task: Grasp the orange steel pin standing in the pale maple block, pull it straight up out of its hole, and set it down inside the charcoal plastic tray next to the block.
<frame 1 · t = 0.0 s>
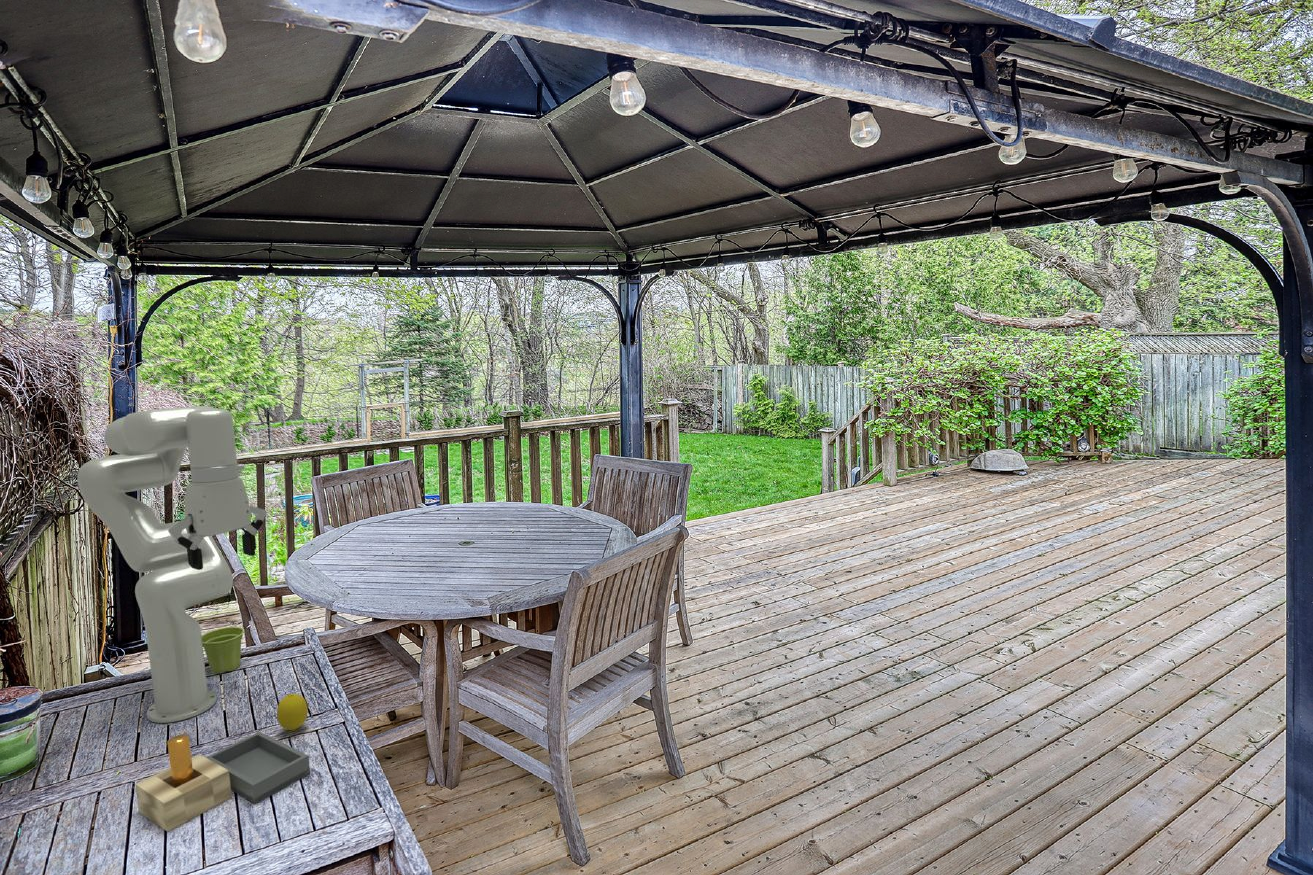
hand: (224, 561, 134), 37 cm above the table, tool pointing down, fingers open, 9 cm apart
plant pot: (225, 668, 171), on the table
tray: (258, 774, 128), on the table
lemon: (294, 731, 142), on the table
pin block: (185, 804, 120), on the table
pin: (182, 771, 119), in the pin block
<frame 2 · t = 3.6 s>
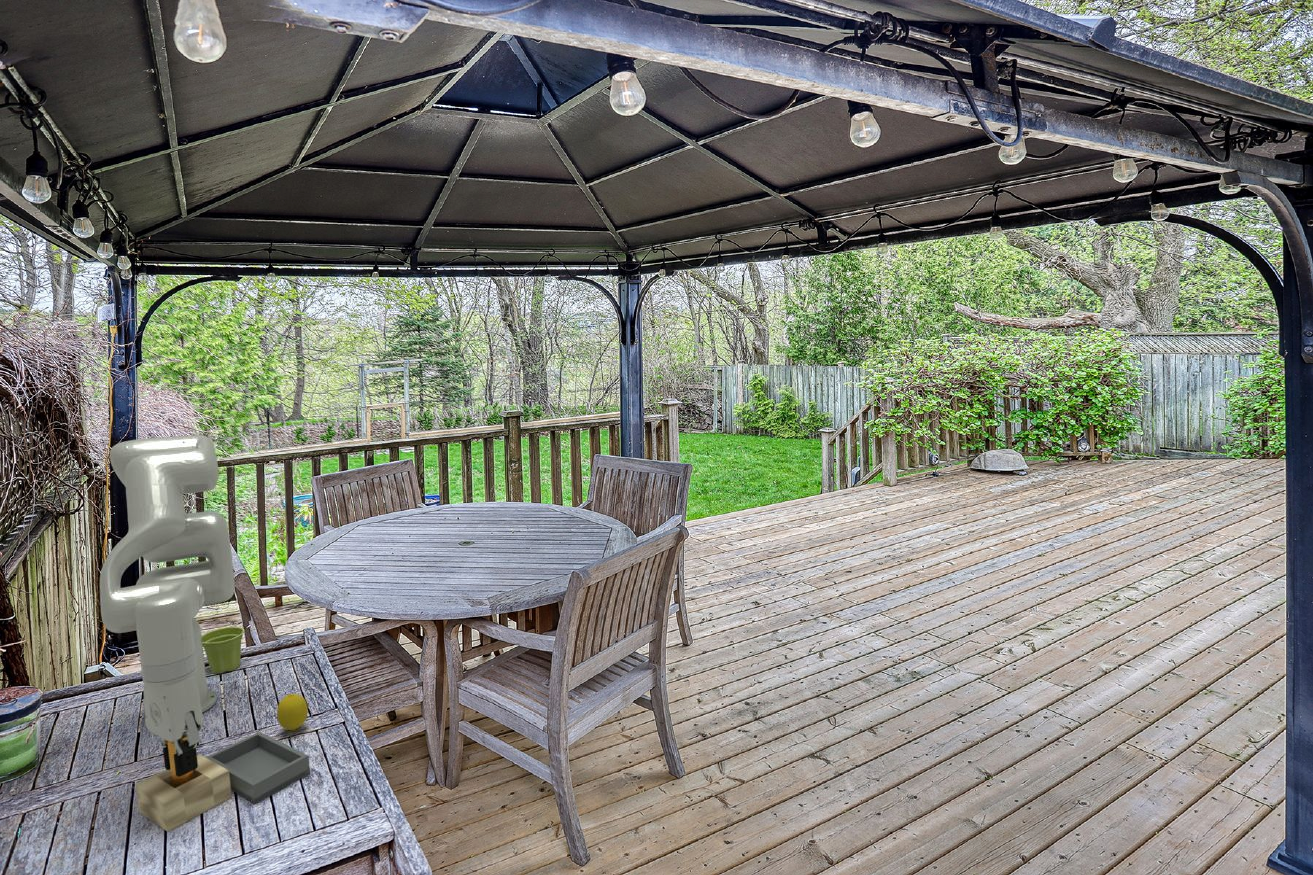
hand: (181, 767, 119), 7 cm above the table, tool pointing down, fingers closed on pin, 3 cm apart
pin: (182, 771, 119), in the pin block, touching gripper
everything else where it was.
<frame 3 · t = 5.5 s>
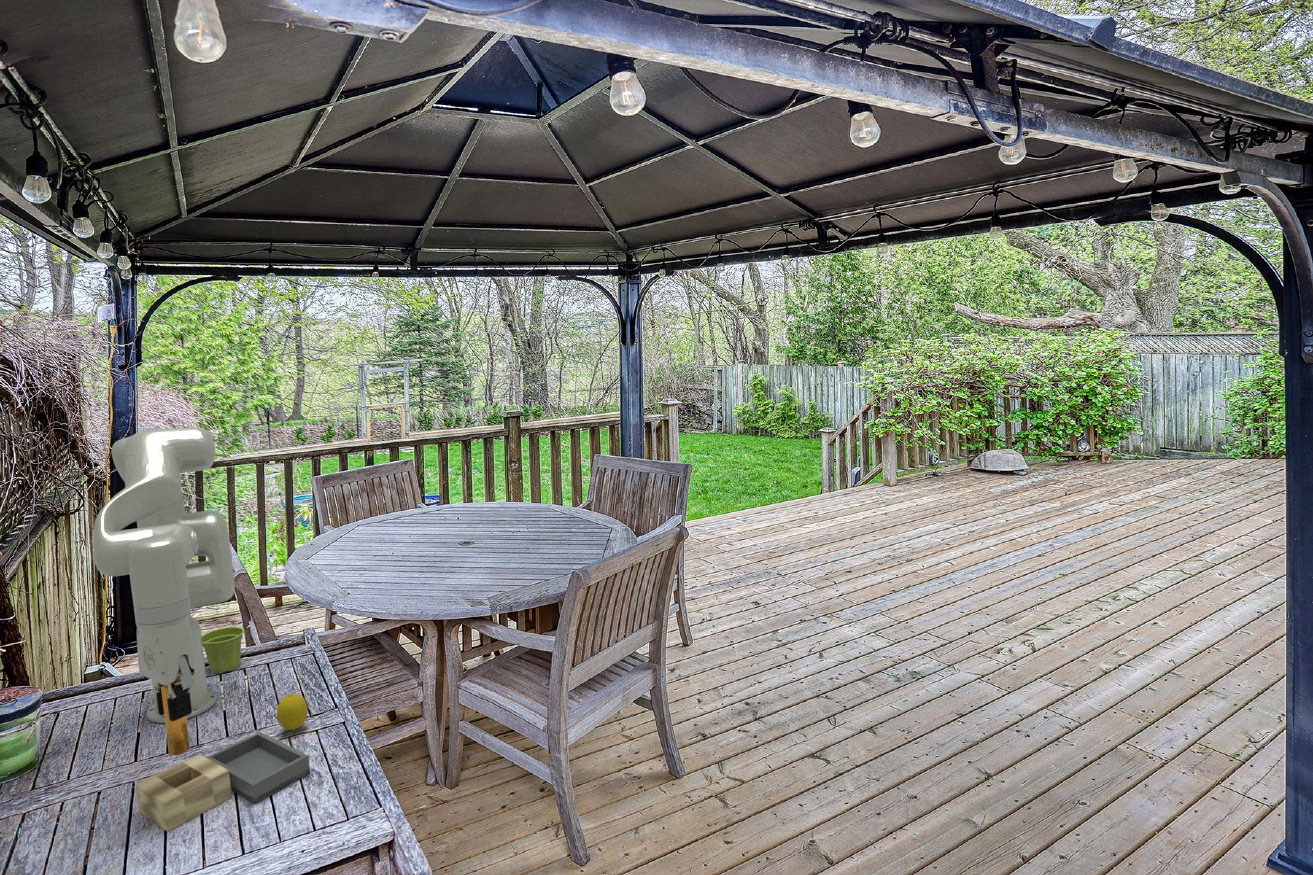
hand: (175, 713, 118), 16 cm above the table, tool pointing down, fingers closed on pin, 3 cm apart
pin: (175, 717, 118), point 16 cm above the table, touching gripper
everything else where it was.
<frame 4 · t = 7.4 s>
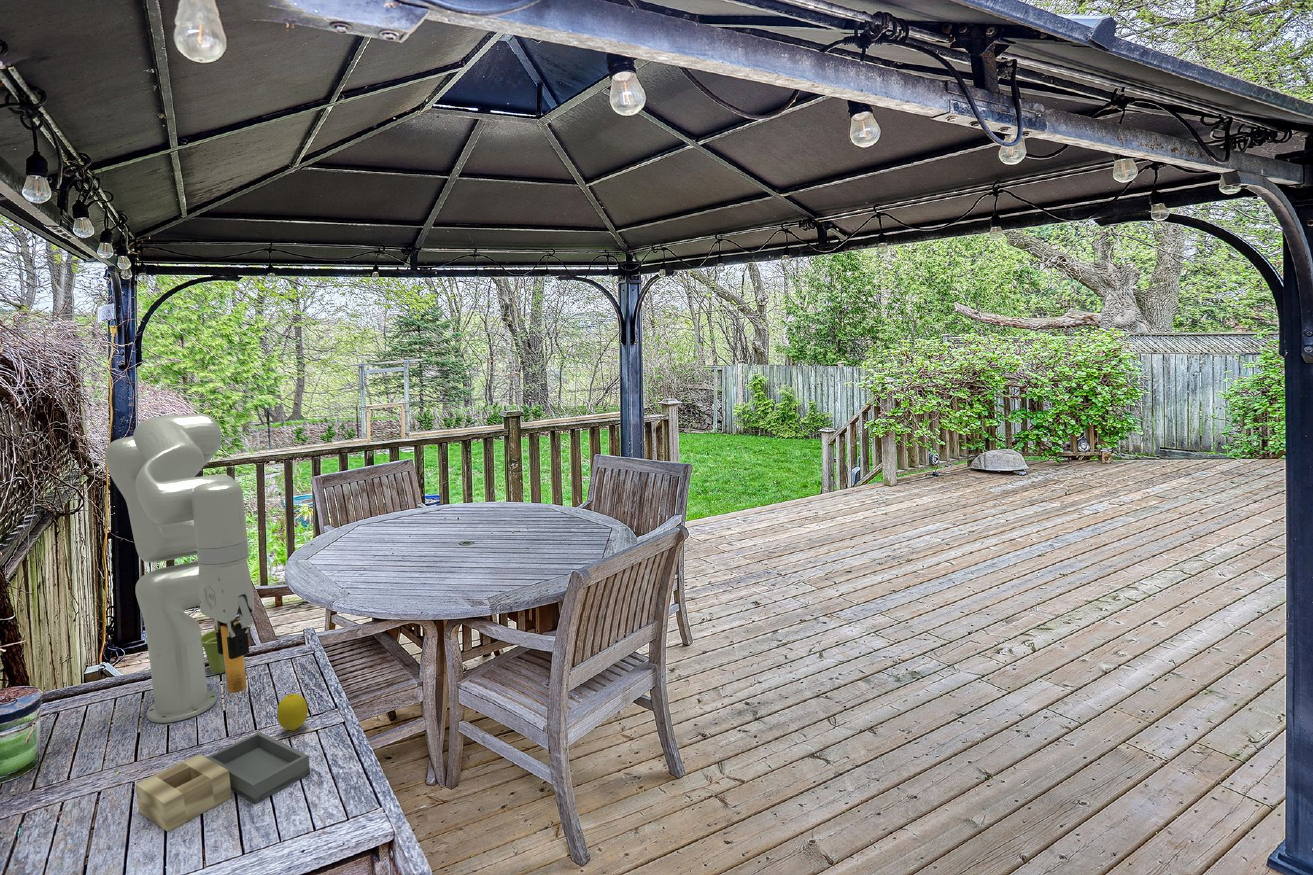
hand: (233, 652, 123), 24 cm above the table, tool pointing down, fingers closed on pin, 3 cm apart
pin: (233, 656, 123), point 23 cm above the table, touching gripper
everything else where it was.
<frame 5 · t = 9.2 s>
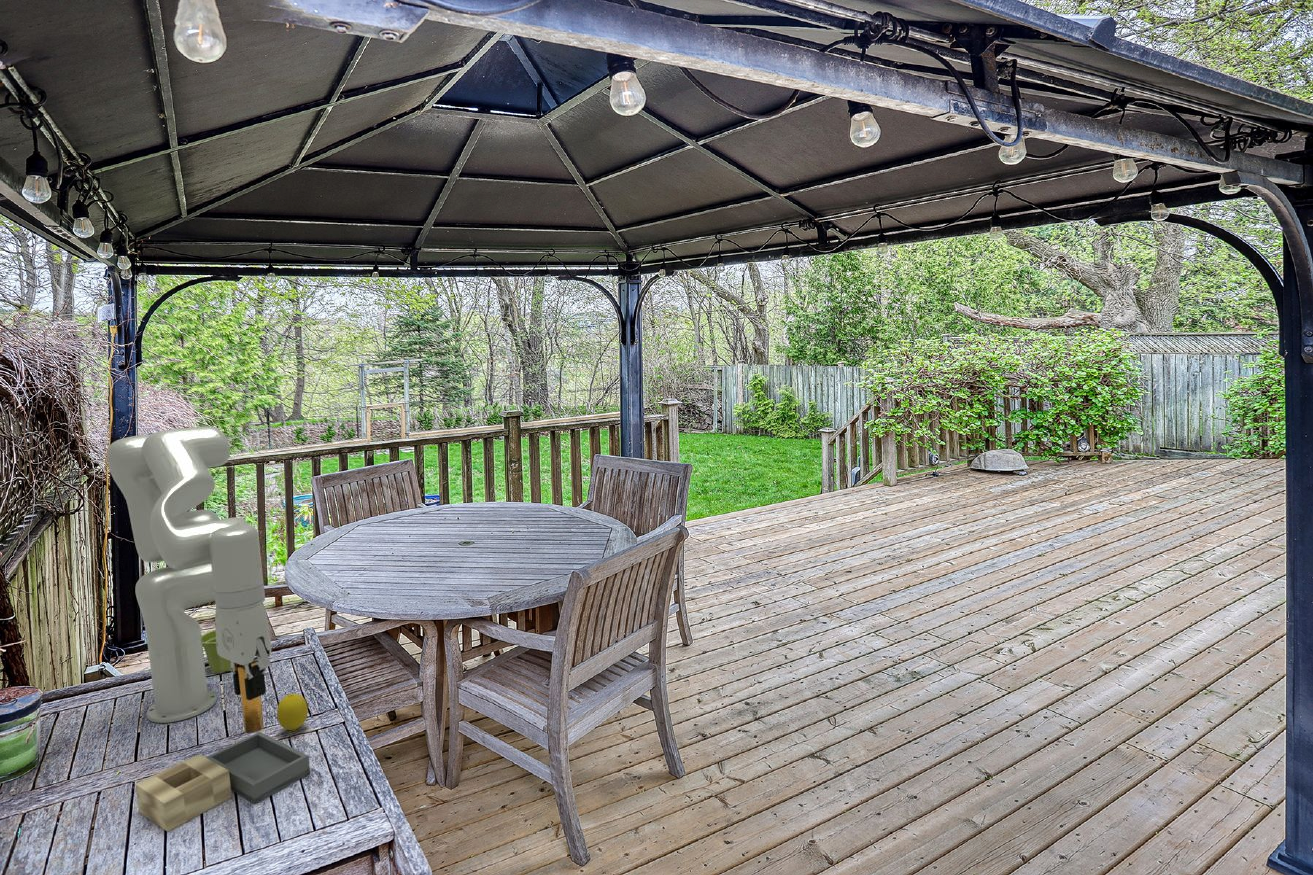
hand: (250, 693, 125), 16 cm above the table, tool pointing down, fingers closed on pin, 3 cm apart
pin: (250, 697, 125), point 15 cm above the table, touching gripper
everything else where it was.
when the fingers open (9 cm above the table, at t = 11.1 s): pin drops 1 cm, resting on tray.
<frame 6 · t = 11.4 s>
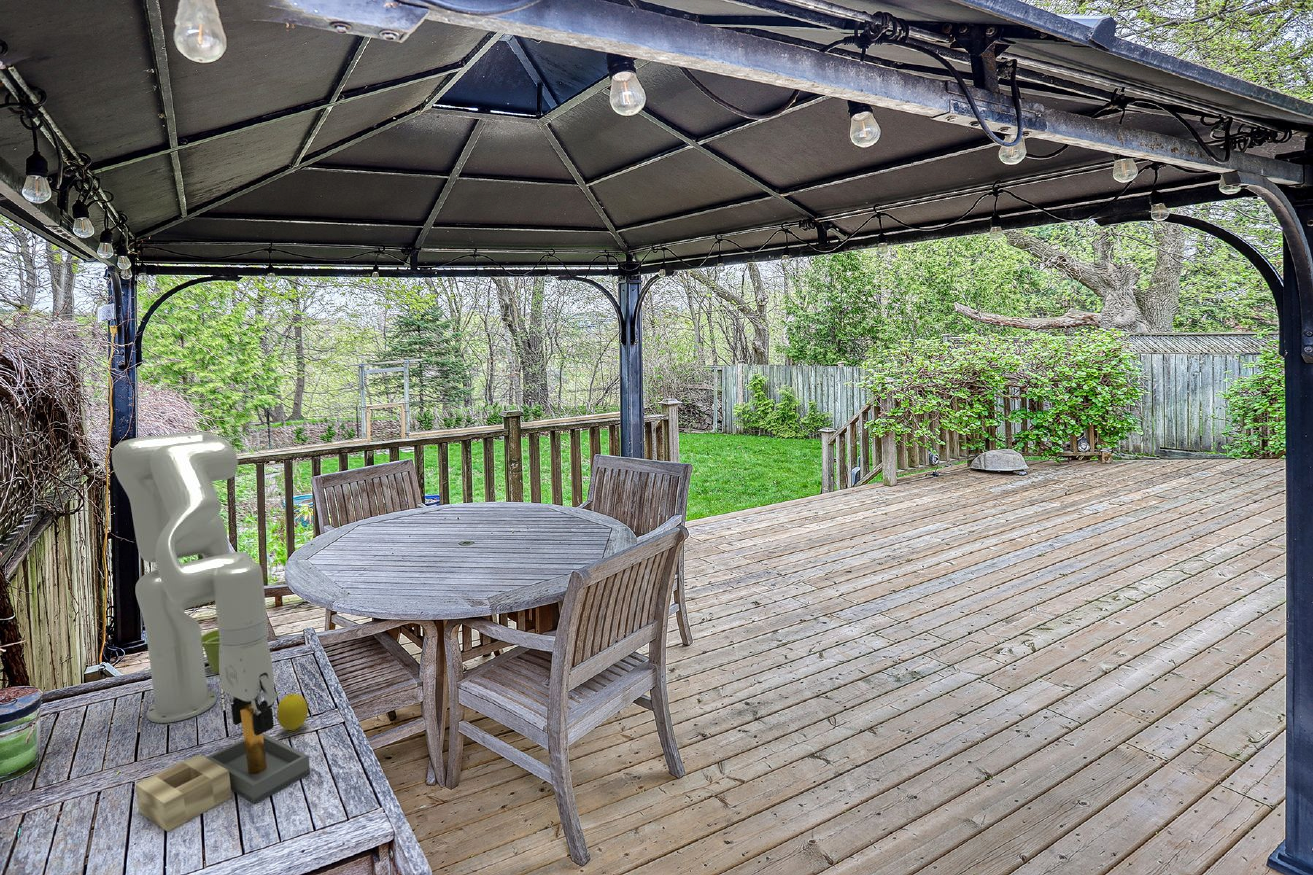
hand: (253, 725, 126), 10 cm above the table, tool pointing down, fingers open, 6 cm apart
pin: (253, 738, 127), in the tray, point 7 cm above the table
everything else where it was.
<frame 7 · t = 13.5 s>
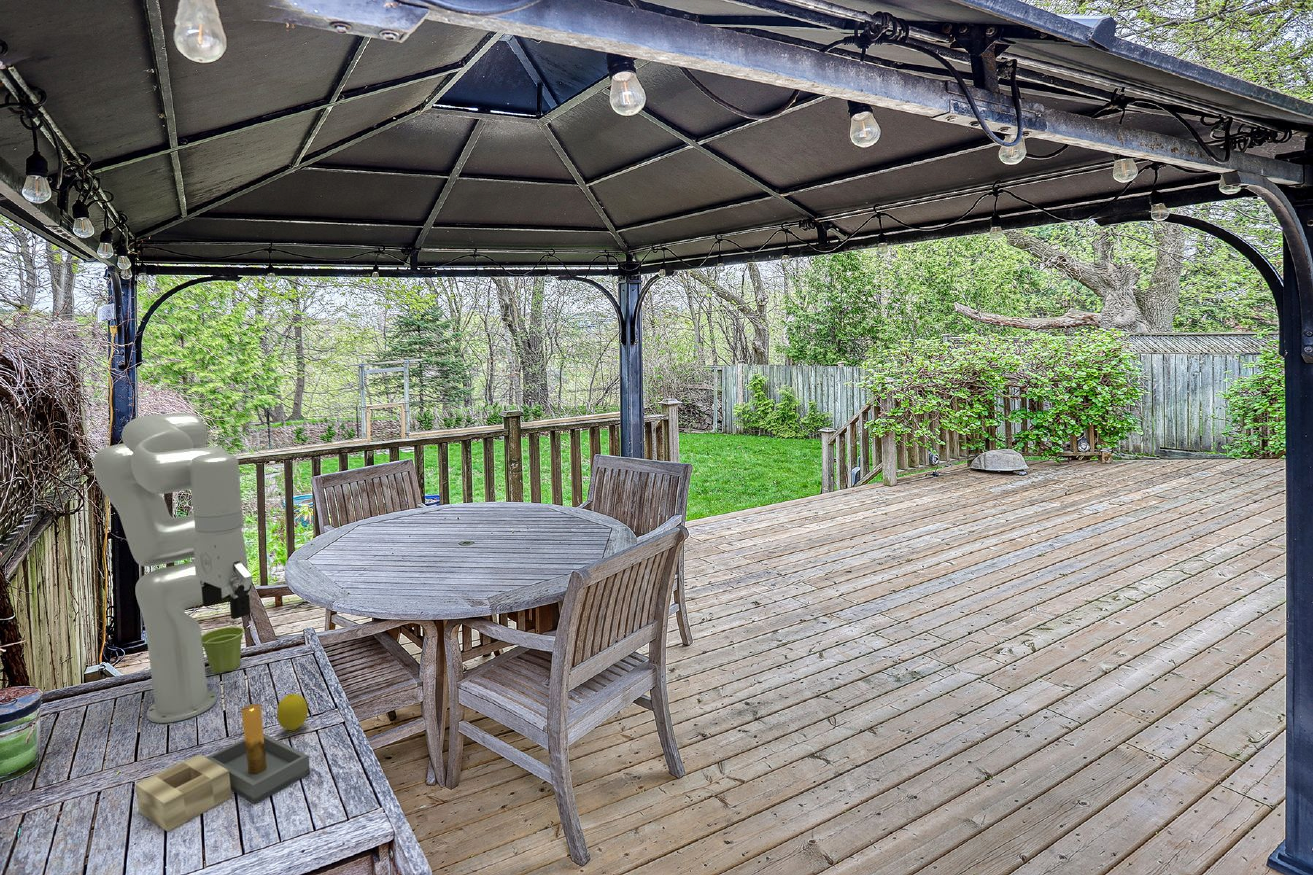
hand: (226, 610, 130), 29 cm above the table, tool pointing down, fingers open, 9 cm apart
nothing on the table moved.
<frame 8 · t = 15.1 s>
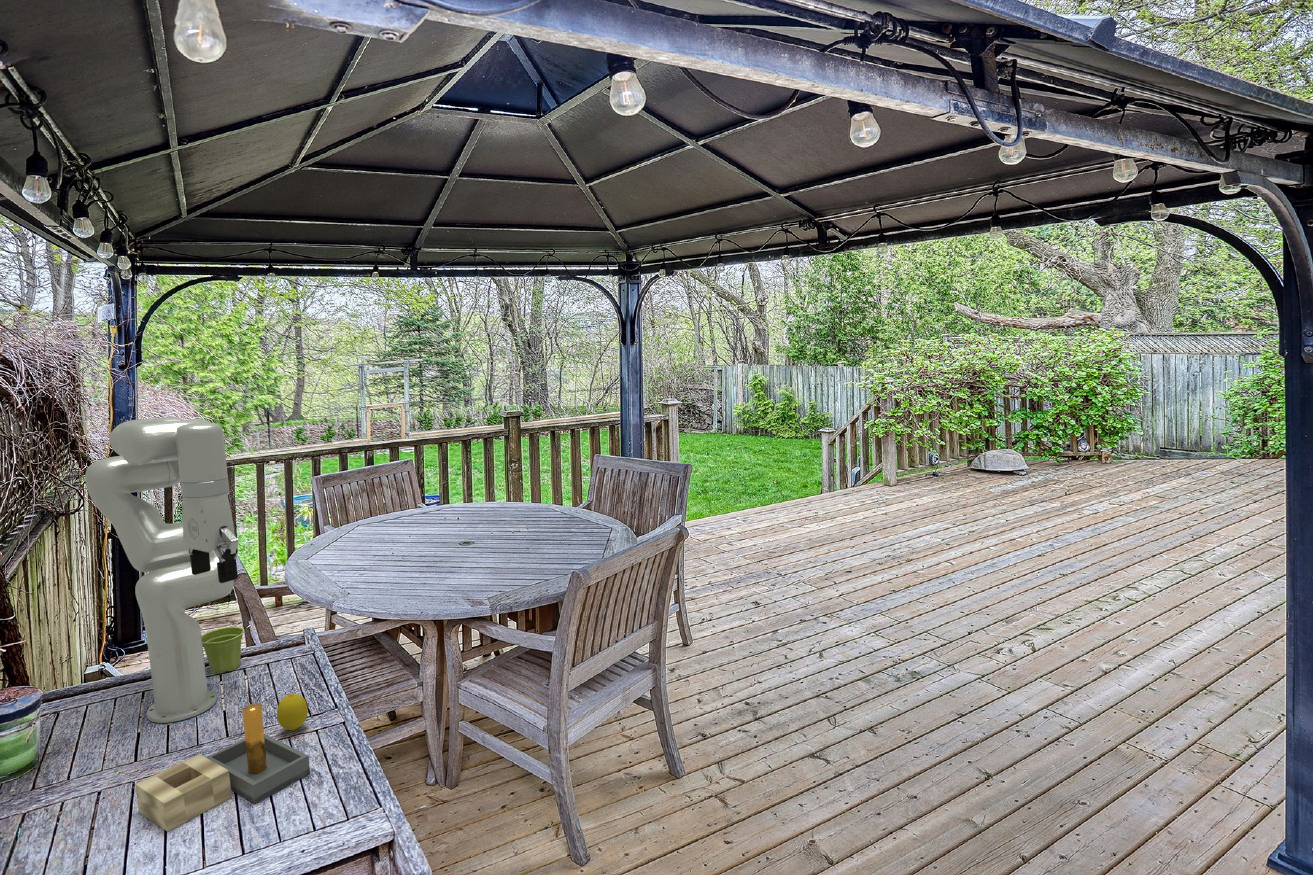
hand: (214, 576, 133), 34 cm above the table, tool pointing down, fingers open, 9 cm apart
nothing on the table moved.
at the end: pin inside the target area on the tray (0.1 cm from its centre), point 7.0 cm above the tray's base; the gripper is holding nothing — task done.
